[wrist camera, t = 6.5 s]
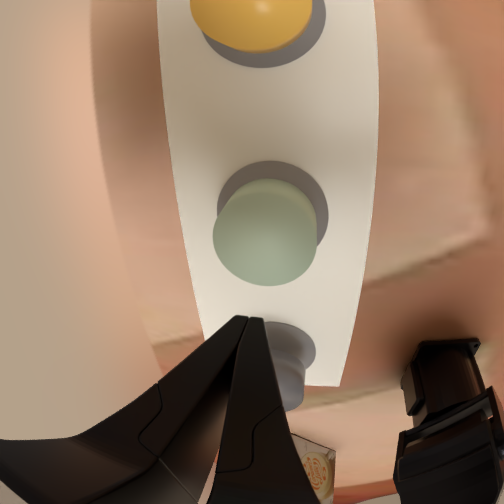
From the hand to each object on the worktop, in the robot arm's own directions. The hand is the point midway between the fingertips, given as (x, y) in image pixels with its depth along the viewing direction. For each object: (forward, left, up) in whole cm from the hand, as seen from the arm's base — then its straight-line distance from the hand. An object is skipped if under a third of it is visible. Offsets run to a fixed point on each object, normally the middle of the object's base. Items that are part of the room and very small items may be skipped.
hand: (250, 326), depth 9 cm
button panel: (0, 0, -11) cm, 11 cm away
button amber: (0, -10, -7) cm, 12 cm away
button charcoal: (0, +10, -6) cm, 12 cm away
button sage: (0, 0, -7) cm, 7 cm away
